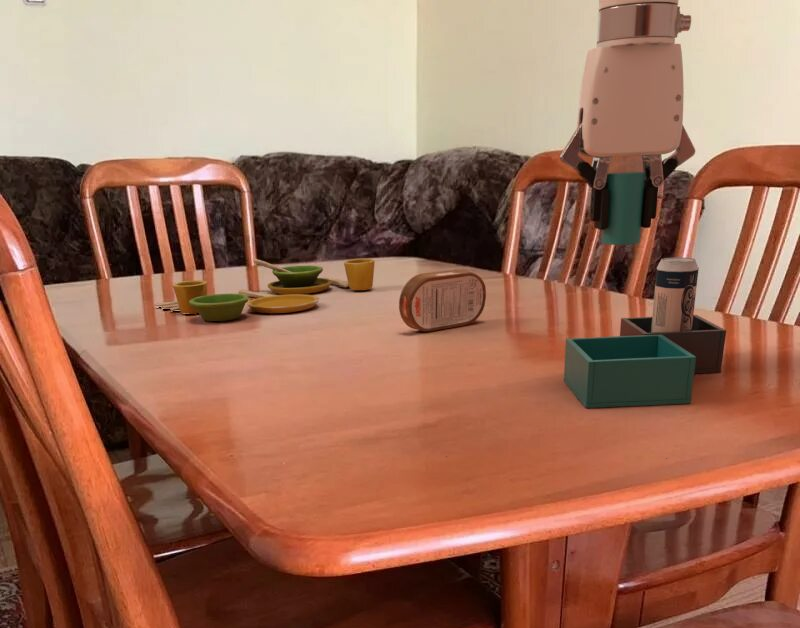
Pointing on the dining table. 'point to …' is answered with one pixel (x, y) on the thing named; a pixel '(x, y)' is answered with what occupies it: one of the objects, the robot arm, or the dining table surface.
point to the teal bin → (628, 371)
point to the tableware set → (290, 282)
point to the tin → (442, 300)
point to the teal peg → (624, 208)
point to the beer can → (674, 295)
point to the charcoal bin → (687, 340)
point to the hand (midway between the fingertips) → (621, 225)
